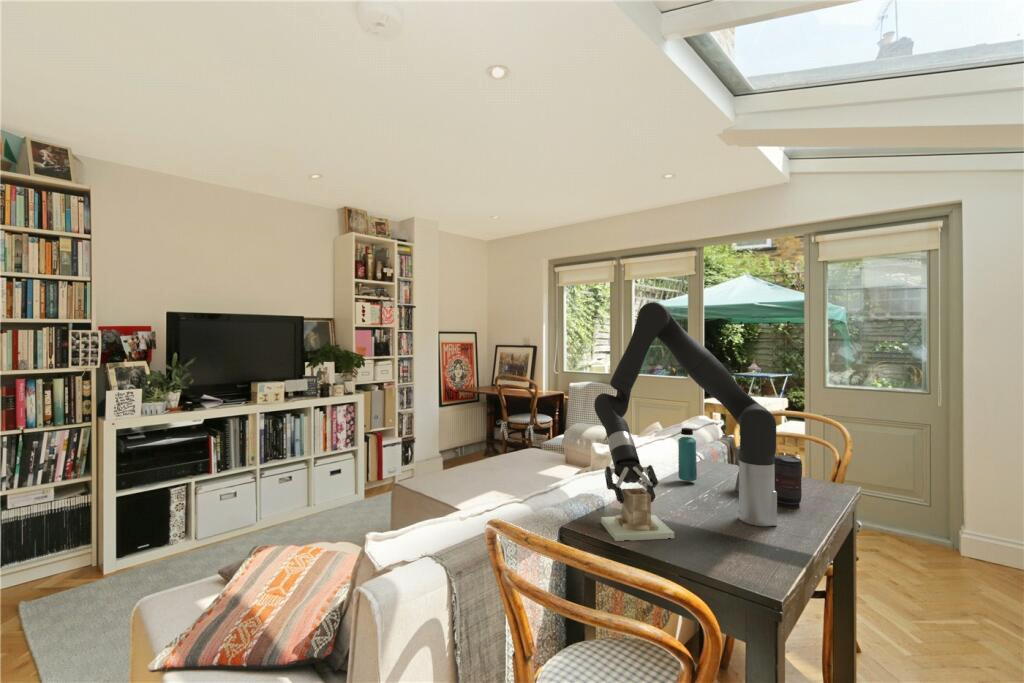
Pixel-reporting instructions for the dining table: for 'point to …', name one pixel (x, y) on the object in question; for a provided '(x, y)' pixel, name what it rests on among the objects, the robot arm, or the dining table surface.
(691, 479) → the beverage bottle
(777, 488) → the camera lens
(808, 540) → the dining table surface
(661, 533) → the post plate
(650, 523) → the flange collar
